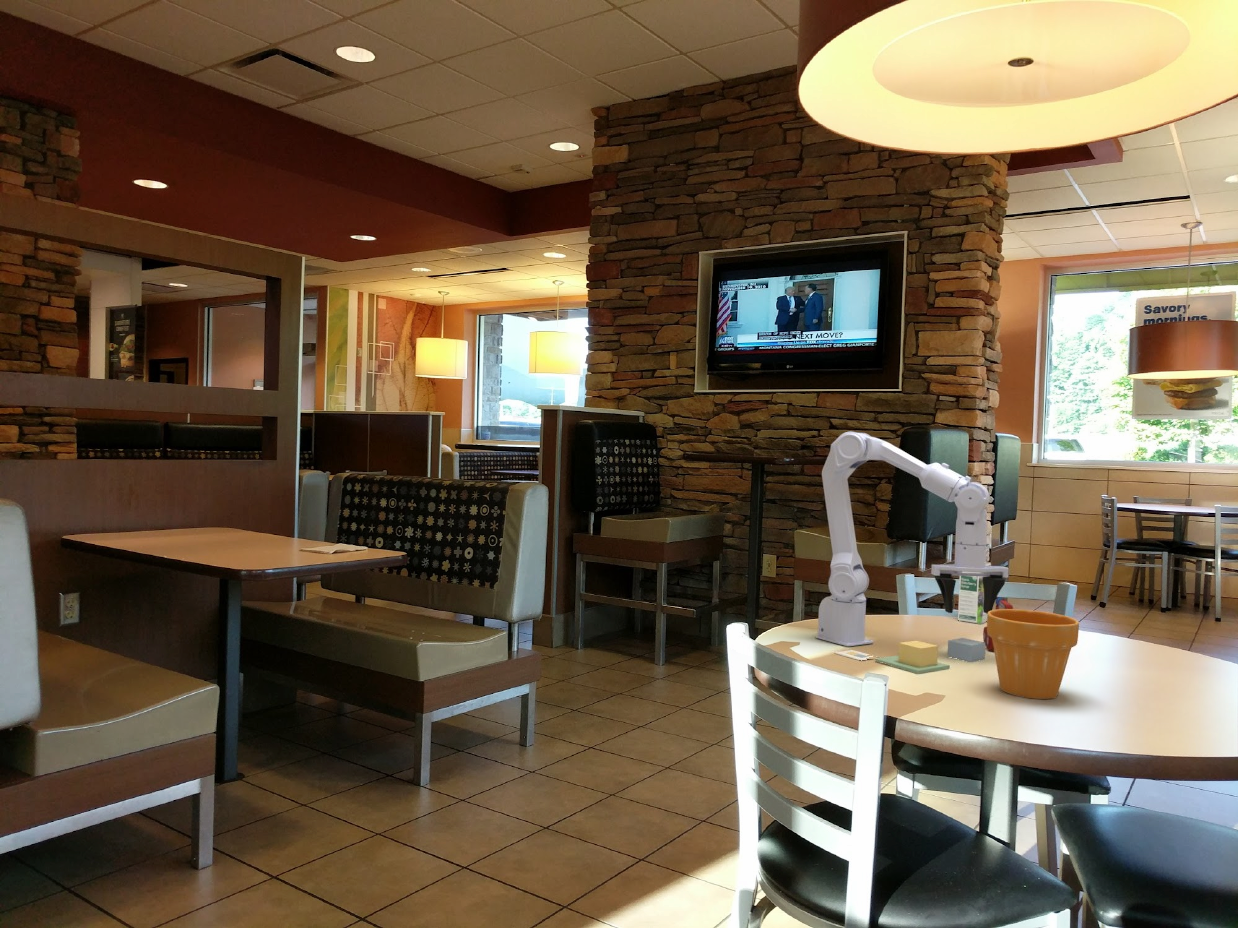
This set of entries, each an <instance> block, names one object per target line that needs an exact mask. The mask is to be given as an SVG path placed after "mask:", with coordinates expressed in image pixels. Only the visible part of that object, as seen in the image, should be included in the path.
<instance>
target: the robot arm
mask: <svg viewBox="0 0 1238 928" xmlns="http://www.w3.org/2000/svg"><path fill="white" fill-rule="evenodd" d="M871 460H872V461H873V460H874V461H885V462H886V463H888V464H890V465H892V466H894V467H896V468H899V469H900V470H902V471H904V472H905V473H906V472H907V473H908V474H910V475H912V476H914V477H916V478H918V479H919V482H920V484H921V488H923V489H925V490H926V491H929V492H931V493H932V494H934V495H936V496H938V497H940V498H941V499H943V500H945V501H947V502H949V503H953V502H954V503H955V506H956V508H957V513H956V514H957V516H956V517H957V518H956V521H955V522H956V523H955V542H954V563H953V564H948V563H947V564H946V563H945V564H931V573H930V574H931V575H933V576H934V579H935V582H936V584H937V586H938V588H939V591H940V593H941V597H942V600H943V604H944V611H945V613H947V614H953V611H954V593H955V588H956V583H957V580H956V579H955V578H954V576H957V577H960V576H987V577H982V579H983V587H984V602H983V611H984V613H987V614H988V612H989V611H991V610H994V605H995V604H996V599H997V598H998V595H999V594H1000V592H1001V590H1002V588H1003V587H1004V586H1005V582H1006V579H1005V578H1009V569H1010V568H1009V567H1006V566H997V565H991V566H986V562H987V543H988V540H987V539H988V521H987V518H988V508H987V506H988V505H989V503H990V500H991V499H990V497H991V496H990V493H989V490H988V489H987V488H986V487H985V485H982V483H981V482H979V481H978V482H977V481H971V480H972V477H970V476H969V475H966V476H963V475H961V474H960V473H958V472H955V471H954V470H952V469H950V465H949V464H947V463H945V462H941V464H940V463H938V462H933V463H930V464H926V463H925V462H924V461H921V460H919V459H918V458H916V457H914V456H912V455H910V454H909V453H907V452H905V451H904V450H902V449H901V448H899V447H897V446H895V445H893V444H892V443H890V442H888V441H886V440H883V439H882V438H881V439H880V438H878V437H875V436H871V435H870V434H868V433H865V432H856V431H847V432H846V431H845V432H844V433H841V434H840V435H839V436H838V437H837V438H836V439H835V440H834V441H833V442H832V443H831V444H830V451H829V453H828V456H827V458H826V460H825V461H824V462H825V463H824V465H823V468H822V470H821V477H822V478H821V479H822V486H823V493H824V499H825V508H826V515H827V522H828V528H829V529H828V530H829V536H830V542H831V543H830V544H831V545H830V546H831V551H832V558H831V562H830V566H829V567H830V575H829V578H828V584H827V585H828V590H829V592H830V596H826V597H824V598H822V600H821V602H820V603H819V607H818V621H817V622H818V623H817V634H816V635H814V638H815V639H819V640H823V641H826V642H829V643H833V644H836V645H837V644H838V645H840V646H844V647H854V646H860V645H869V644H873V642H874V640H873V639H868V638H865V635H866V634H865V633H866V612H867V611H866V610H867V609H866V608H867V607H866V606H867V598H866V596H865V592H866V591H867V589H868V587H869V586H870V585H869V583H870V578H869V575H868V573H867V571H866V570H865V569H864V567H863V566H864V565H863V562H862V561H863V560H862V558H861V556H860V554H859V552H858V546H857V540H856V531H855V525H854V518H853V510H852V504H851V503H852V502H851V495H850V489H849V482H848V479H849V478H850V476H851V475H852V474H853V473H854V472H855V470H856V469H857V468H858V467H860V466H861V465H863V464H865V463H866V462H867V461H871ZM962 572H980V573H962ZM983 573H985V574H983Z"/></svg>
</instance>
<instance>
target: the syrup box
mask: <svg viewBox="0 0 1238 928" xmlns="http://www.w3.org/2000/svg"><path fill="white" fill-rule="evenodd" d="M986 566H992V563H991V562H987V561H986ZM962 573H980V572H962ZM983 574H985V573H983ZM982 577H987V576H959V578H958V580H959V581H958V582H959V584H958V587H959V589H958V608H957V609H958V610H957V621H958V620H959V621H958V622H965V623H971V624H972V623H973V624H978V625H982V624H985V623H987V622H986V621H987V613H984V611H983V602H984V587H983V579H982Z"/></svg>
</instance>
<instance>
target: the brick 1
mask: <svg viewBox="0 0 1238 928" xmlns="http://www.w3.org/2000/svg"><path fill="white" fill-rule="evenodd" d="M897 652H898V661H899V662H902V663H906V664H910V665H913V666H917V667H925V666H931V665H937V662H938V660H939V659H938V658H939V657H938V655H939V653H938V652H939V645H937V644H932V643H928V642H924V641H920V640H912V641H909V640H908V641H904V642H898V651H897Z"/></svg>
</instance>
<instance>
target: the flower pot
mask: <svg viewBox="0 0 1238 928" xmlns="http://www.w3.org/2000/svg"><path fill="white" fill-rule="evenodd" d="M986 627H987V634H988V635H989V636H990V637H991V638H992V641H993V646H994V651H993V653H994V657H995V665H996V670H997V676H998V677H997V678H998V682H999V687H1000V689H1001V690H1002V691H1003V692H1004V693H1007V694H1009V695H1013V696H1017V697H1021V698H1027V699H1036V700H1047V699H1055V698H1057V696H1058V695H1059V692H1060V688H1061V685H1062V681H1063V678H1064V675H1065V671H1066V668H1067V666H1068V665H1067V664H1068V660H1069V657H1070V653H1071V651H1072V648H1074V647H1076V646H1077V645H1078V641H1079V630H1080V622H1079V620H1077V619H1076V618H1074V617H1071V616H1067V615H1063V614H1058V613H1053V612H1048V611H1041V610H1031V609H1018V608H1017V609H1016V608H1015V609H1014V608H1013V609H997V610H995V609H992V610H991V611H989V612H988V614H987V622H986Z"/></svg>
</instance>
